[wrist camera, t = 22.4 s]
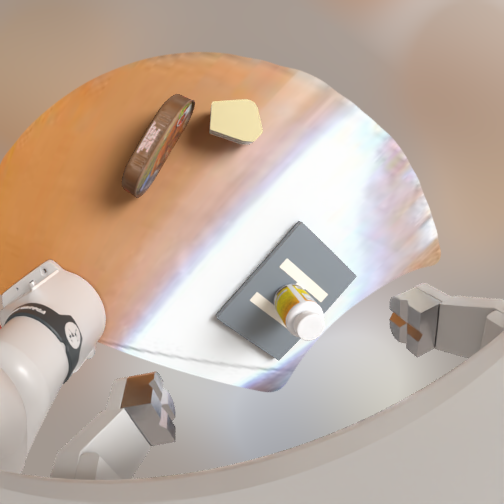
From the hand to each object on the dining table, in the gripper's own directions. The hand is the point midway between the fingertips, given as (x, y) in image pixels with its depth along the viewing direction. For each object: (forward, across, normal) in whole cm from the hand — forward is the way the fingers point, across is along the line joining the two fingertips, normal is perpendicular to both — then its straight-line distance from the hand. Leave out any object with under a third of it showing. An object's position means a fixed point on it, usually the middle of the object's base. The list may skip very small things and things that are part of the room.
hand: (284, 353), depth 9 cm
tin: (+38, +5, -11) cm, 39 cm away
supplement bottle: (+35, -8, +16) cm, 40 cm away
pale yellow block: (+38, -6, -12) cm, 40 cm away
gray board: (+36, -9, +16) cm, 41 cm away
